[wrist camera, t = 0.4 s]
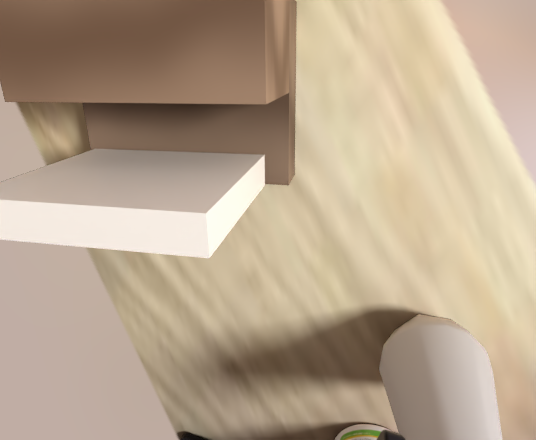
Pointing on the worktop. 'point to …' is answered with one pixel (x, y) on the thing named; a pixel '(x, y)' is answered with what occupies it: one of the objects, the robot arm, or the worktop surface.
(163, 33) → the brown wooden stand
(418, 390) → the salt shaker
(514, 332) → the worktop surface
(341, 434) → the supplement bottle
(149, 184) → the button plate
